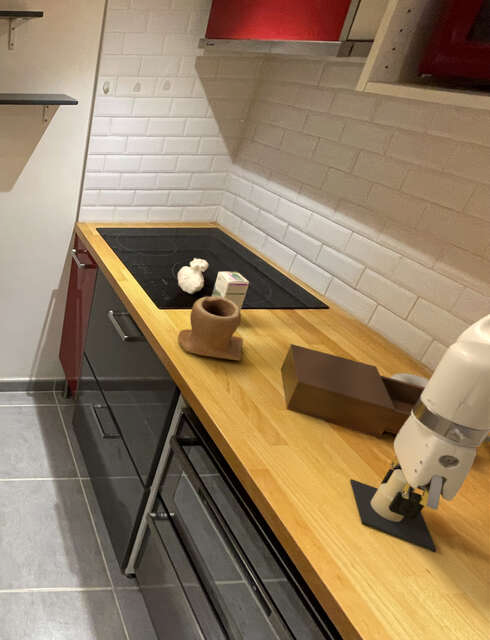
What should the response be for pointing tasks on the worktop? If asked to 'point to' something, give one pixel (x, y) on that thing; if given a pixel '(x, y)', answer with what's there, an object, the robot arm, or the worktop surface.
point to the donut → (411, 379)
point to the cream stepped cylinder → (389, 496)
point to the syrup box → (231, 287)
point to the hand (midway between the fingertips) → (397, 501)
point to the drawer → (403, 402)
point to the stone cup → (213, 329)
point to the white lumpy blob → (192, 276)
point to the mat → (404, 529)
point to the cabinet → (336, 390)
